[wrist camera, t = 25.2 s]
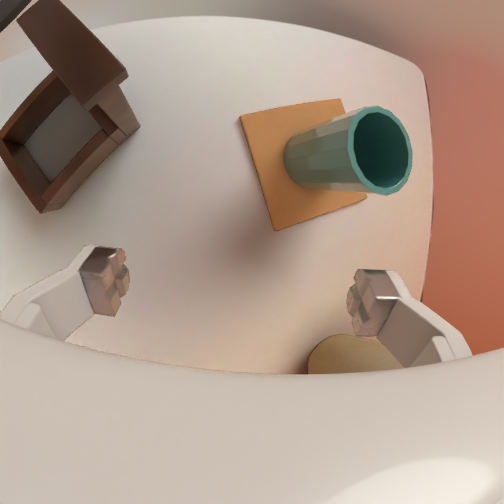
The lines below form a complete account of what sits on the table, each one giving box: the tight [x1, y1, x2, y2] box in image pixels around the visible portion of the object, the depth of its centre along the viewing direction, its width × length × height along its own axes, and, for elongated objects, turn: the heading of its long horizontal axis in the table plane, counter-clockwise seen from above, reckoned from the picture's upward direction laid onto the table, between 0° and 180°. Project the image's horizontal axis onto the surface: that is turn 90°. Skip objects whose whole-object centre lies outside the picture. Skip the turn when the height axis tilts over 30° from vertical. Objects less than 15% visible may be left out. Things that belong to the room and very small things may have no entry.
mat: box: [240, 99, 367, 231], centre depth 27 cm, size 12×12×1 cm
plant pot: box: [308, 334, 404, 374], centre depth 27 cm, size 15×15×16 cm
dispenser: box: [0, 0, 140, 214], centre depth 14 cm, size 12×10×13 cm
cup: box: [284, 106, 412, 195], centre depth 22 cm, size 6×6×11 cm
